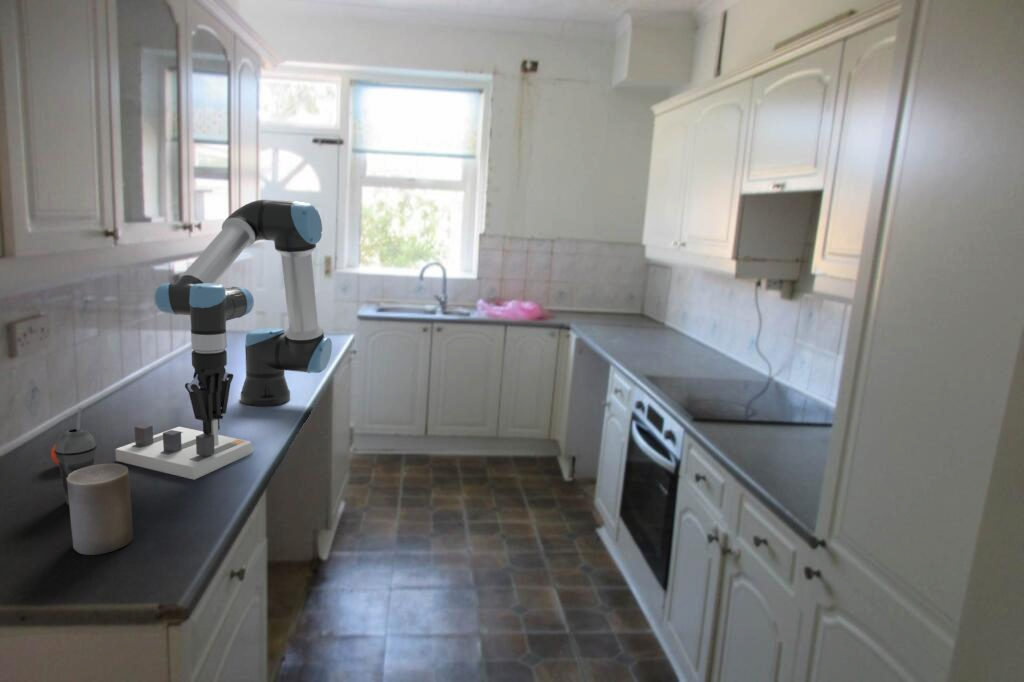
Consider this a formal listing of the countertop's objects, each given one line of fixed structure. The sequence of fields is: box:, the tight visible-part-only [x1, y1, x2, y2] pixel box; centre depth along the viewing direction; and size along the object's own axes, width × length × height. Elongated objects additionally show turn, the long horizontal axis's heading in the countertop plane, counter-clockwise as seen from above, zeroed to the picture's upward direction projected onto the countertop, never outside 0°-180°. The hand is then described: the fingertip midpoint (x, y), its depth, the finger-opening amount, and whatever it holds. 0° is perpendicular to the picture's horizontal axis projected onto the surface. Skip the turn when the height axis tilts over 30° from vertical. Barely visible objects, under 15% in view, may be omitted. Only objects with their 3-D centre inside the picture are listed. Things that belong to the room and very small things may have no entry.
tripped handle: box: [196, 433, 214, 457], centre depth 156 cm, size 2×3×4 cm
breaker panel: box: [115, 423, 253, 481], centre depth 162 cm, size 19×24×8 cm
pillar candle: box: [66, 463, 135, 556], centre depth 120 cm, size 10×10×15 cm
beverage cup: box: [54, 407, 98, 506], centre depth 135 cm, size 7×7×20 cm
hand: (211, 444), depth 158 cm, fingers closed
